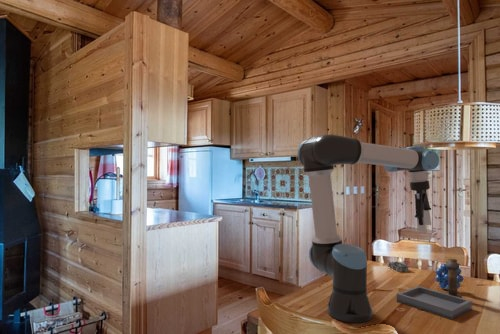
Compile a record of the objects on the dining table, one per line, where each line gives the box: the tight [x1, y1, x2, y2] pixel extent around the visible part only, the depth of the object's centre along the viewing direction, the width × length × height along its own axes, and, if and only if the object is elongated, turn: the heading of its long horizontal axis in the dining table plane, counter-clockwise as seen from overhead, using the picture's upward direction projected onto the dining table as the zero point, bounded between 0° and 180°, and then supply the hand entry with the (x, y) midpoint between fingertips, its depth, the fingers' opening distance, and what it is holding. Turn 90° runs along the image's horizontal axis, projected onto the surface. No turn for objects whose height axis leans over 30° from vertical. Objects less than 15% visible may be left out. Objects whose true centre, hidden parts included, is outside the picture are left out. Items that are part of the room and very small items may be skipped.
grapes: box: [434, 263, 464, 292], centre depth 141 cm, size 12×7×12 cm, turn 31°
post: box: [444, 258, 463, 298], centre depth 132 cm, size 6×6×16 cm
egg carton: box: [386, 259, 410, 273], centre depth 174 cm, size 11×8×4 cm
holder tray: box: [396, 285, 473, 321], centre depth 125 cm, size 16×20×3 cm
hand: (425, 228), depth 145 cm, fingers open, 13 cm apart
